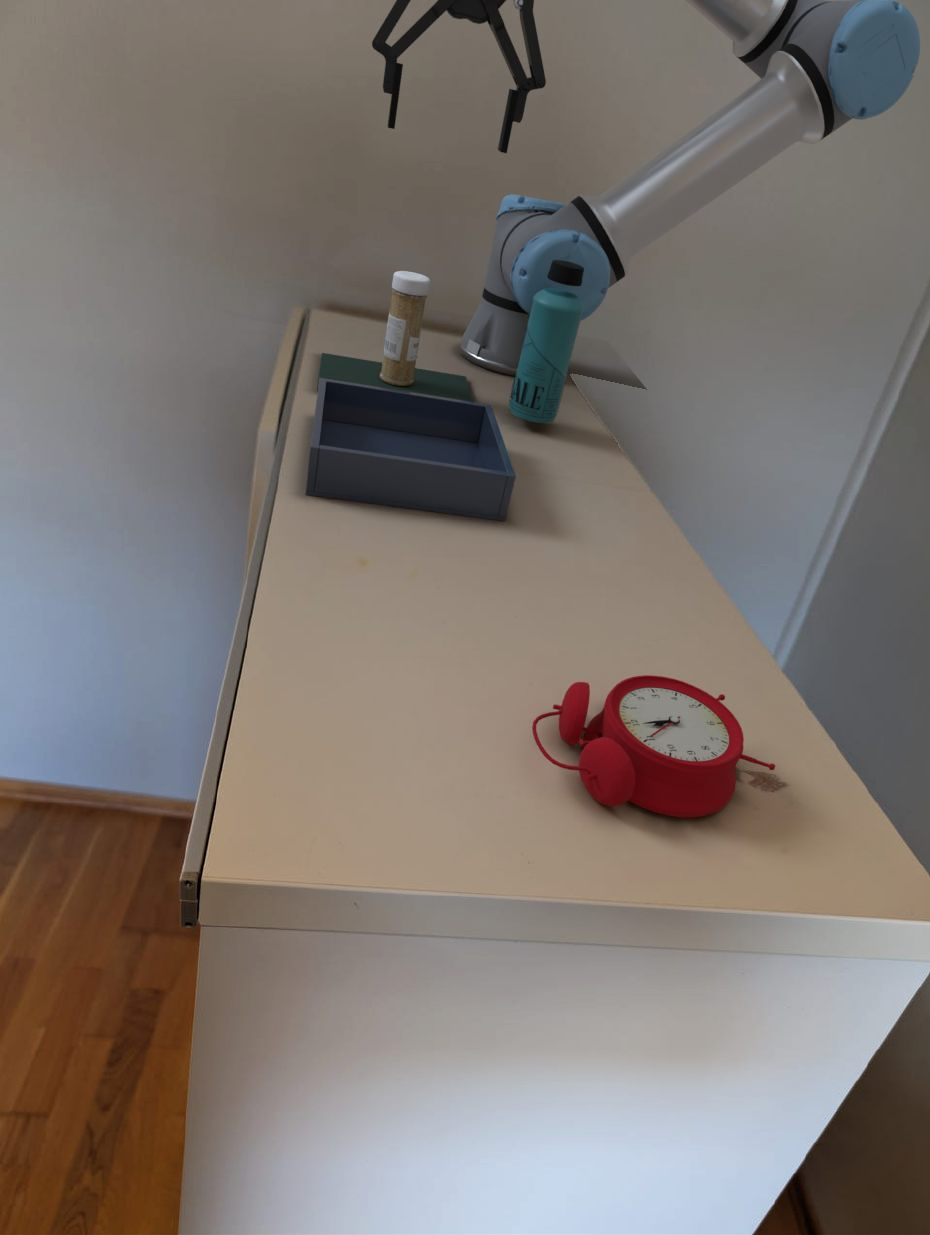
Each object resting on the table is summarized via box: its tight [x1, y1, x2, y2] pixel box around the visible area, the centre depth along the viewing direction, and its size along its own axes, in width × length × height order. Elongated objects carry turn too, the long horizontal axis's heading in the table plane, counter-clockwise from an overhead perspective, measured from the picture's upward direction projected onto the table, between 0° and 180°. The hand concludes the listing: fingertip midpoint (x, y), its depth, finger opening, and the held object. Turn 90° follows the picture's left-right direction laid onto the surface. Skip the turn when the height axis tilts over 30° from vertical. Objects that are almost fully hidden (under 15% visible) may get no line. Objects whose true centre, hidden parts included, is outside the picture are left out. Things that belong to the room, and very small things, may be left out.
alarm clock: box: [531, 674, 776, 818], centre depth 57 cm, size 10×6×15 cm
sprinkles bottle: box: [380, 270, 431, 386], centre depth 109 cm, size 5×5×13 cm
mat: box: [316, 352, 474, 402], centre depth 113 cm, size 20×14×1 cm
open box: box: [305, 377, 517, 522], centre depth 90 cm, size 20×20×5 cm
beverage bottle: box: [507, 260, 584, 424], centre depth 105 cm, size 6×7×20 cm
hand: (447, 140), depth 103 cm, fingers open, 13 cm apart
